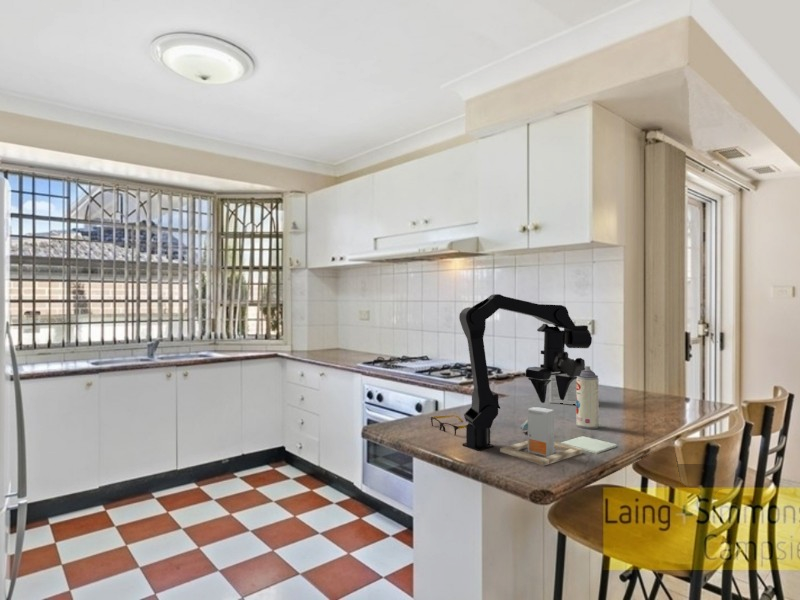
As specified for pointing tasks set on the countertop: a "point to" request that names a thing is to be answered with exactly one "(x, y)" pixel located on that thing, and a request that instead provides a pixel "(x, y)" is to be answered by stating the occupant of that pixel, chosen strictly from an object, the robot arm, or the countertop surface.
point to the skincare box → (541, 431)
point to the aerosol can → (587, 399)
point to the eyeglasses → (447, 423)
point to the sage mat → (590, 444)
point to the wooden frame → (566, 453)
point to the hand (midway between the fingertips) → (552, 401)
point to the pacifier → (524, 425)
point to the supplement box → (570, 394)
